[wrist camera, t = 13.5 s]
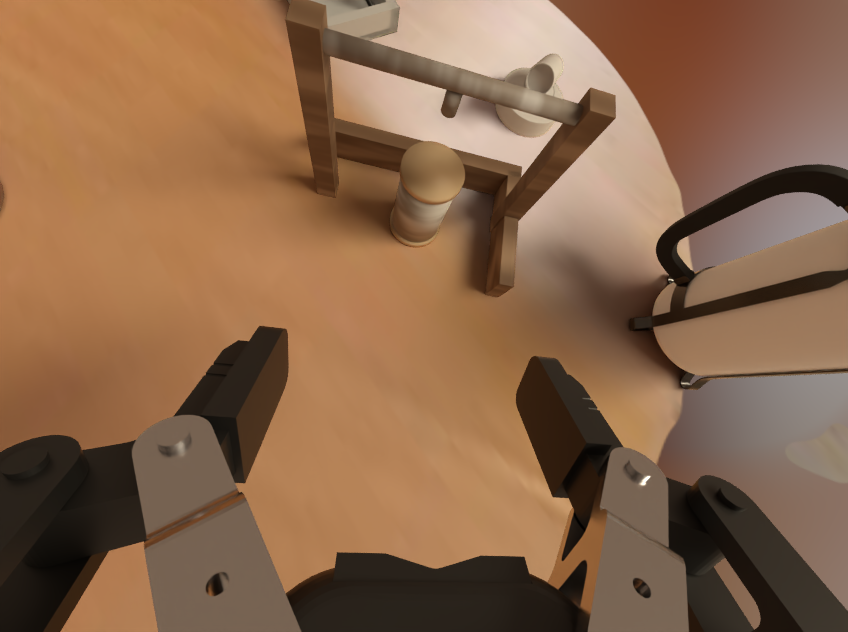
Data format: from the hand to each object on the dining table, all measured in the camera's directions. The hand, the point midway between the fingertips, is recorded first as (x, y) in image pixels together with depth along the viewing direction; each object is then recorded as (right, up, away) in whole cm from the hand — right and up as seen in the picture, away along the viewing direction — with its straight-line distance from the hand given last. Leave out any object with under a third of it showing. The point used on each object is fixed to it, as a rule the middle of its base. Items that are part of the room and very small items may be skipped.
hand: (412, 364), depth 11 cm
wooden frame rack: (-1, +13, +28) cm, 31 cm away
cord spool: (-1, +12, +28) cm, 31 cm away
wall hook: (+14, +29, +35) cm, 48 cm away
